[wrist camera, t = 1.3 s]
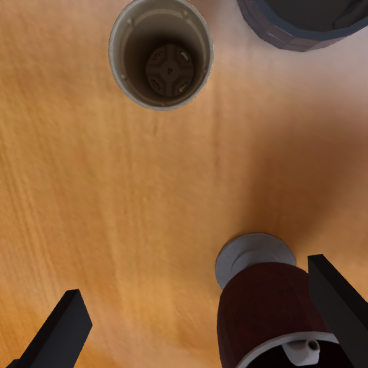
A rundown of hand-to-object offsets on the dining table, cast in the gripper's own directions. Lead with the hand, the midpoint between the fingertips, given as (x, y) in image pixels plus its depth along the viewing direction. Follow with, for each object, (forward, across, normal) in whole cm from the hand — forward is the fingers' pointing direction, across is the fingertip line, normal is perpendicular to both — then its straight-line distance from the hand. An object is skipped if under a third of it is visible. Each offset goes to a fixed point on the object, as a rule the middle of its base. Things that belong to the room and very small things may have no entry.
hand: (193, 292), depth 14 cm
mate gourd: (+21, +7, -14) cm, 26 cm away
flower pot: (+21, 0, +15) cm, 26 cm away
